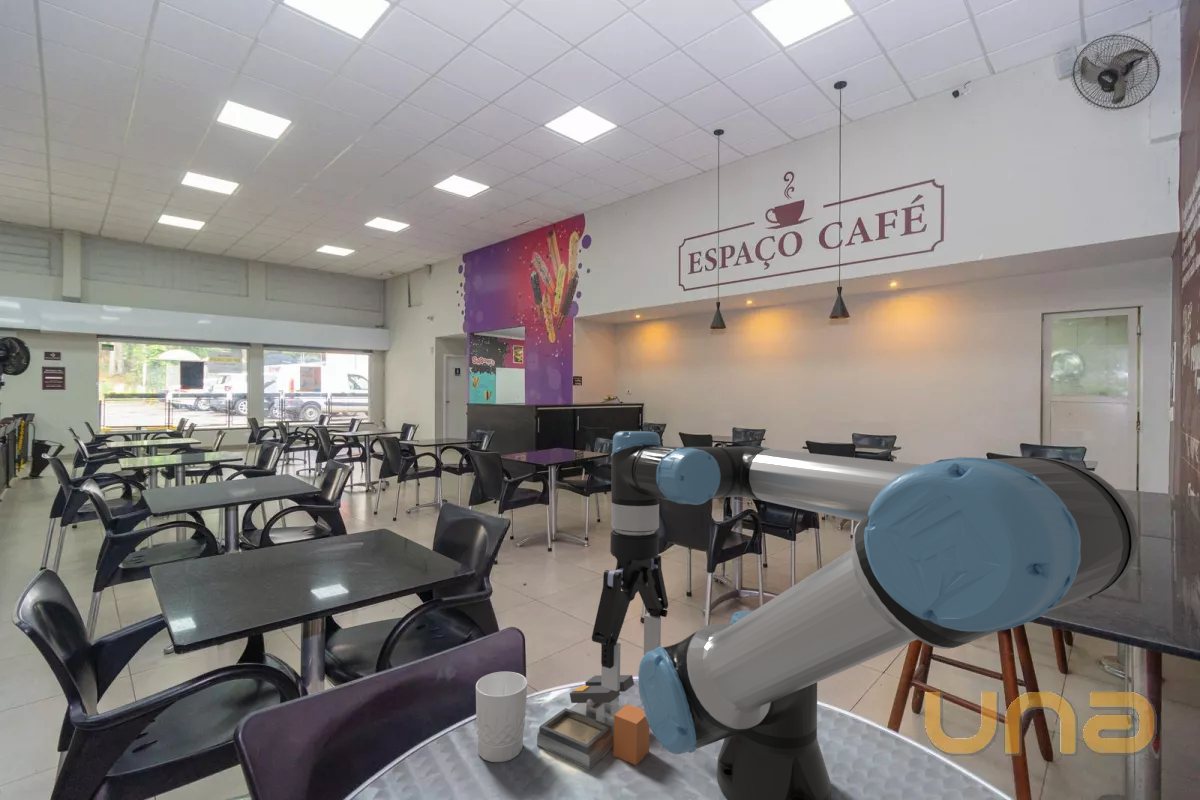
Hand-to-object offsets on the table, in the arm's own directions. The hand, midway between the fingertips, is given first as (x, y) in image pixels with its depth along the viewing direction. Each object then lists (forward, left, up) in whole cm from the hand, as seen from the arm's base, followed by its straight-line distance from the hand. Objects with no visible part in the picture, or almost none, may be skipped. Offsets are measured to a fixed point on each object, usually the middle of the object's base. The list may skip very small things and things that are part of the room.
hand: (632, 671), depth 82 cm
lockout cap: (0, 0, -12) cm, 12 cm away
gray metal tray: (+8, 0, -12) cm, 15 cm away
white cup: (+17, +11, -13) cm, 24 cm away
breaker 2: (+8, -6, -7) cm, 13 cm away
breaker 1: (+8, -2, -7) cm, 11 cm away
